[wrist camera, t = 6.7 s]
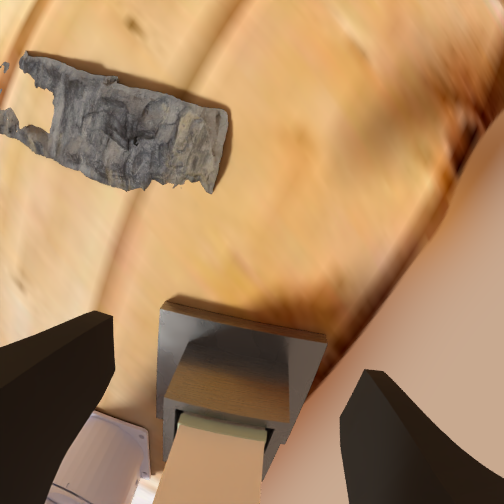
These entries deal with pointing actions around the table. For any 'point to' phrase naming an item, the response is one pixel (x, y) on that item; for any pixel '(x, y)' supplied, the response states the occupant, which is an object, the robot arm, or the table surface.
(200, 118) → the driftwood
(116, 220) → the table surface
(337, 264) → the table surface
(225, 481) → the post
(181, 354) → the sleeve stand
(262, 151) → the table surface
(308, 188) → the table surface
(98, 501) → the robot arm
